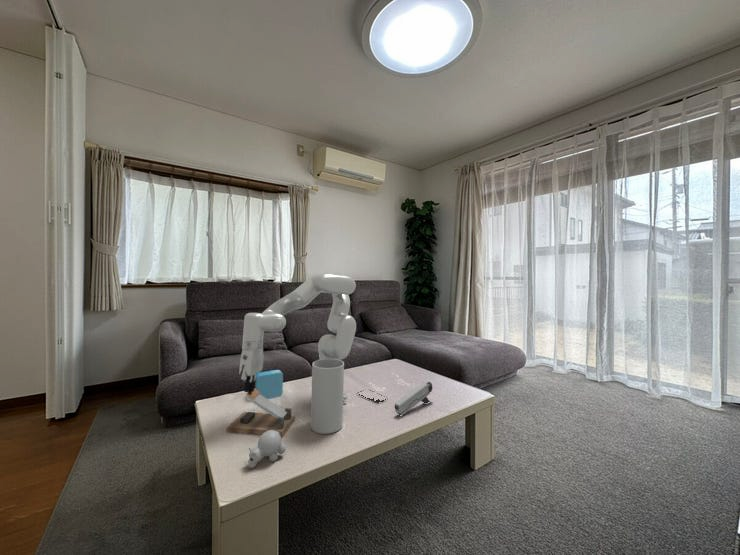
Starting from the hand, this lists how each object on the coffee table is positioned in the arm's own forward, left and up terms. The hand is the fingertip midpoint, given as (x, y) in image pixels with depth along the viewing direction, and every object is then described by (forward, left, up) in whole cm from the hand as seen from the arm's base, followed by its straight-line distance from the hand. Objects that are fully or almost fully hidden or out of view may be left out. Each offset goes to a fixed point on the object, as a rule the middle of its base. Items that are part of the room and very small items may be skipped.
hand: (249, 391), depth 109 cm
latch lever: (-7, -1, -6) cm, 9 cm away
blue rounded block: (+5, -27, -14) cm, 31 cm away
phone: (-45, -35, -14) cm, 59 cm away
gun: (-66, -26, -14) cm, 72 cm away
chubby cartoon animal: (-16, +18, -14) cm, 28 cm away
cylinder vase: (-30, -5, -14) cm, 34 cm away
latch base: (-5, -1, -14) cm, 15 cm away
